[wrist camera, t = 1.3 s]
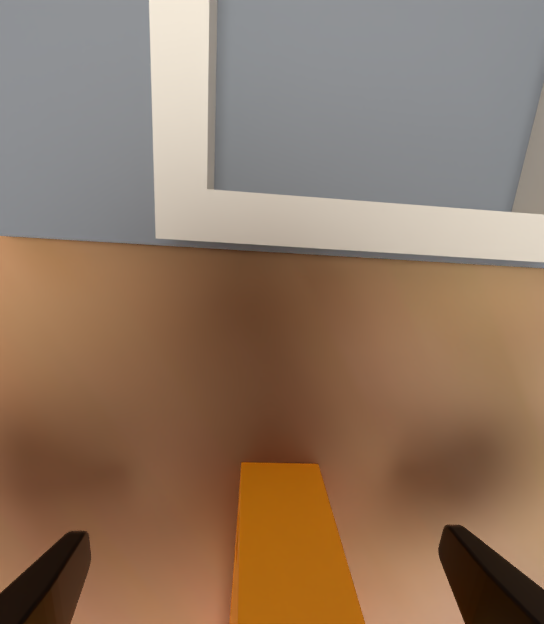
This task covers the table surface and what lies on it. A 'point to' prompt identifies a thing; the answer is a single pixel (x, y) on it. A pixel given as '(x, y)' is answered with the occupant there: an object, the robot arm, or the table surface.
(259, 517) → the pipe clamp
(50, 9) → the jig board
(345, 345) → the table surface
